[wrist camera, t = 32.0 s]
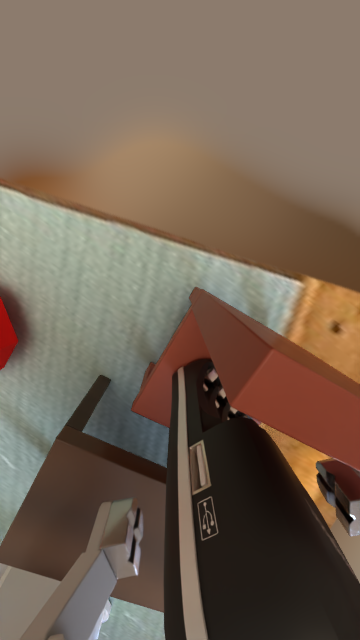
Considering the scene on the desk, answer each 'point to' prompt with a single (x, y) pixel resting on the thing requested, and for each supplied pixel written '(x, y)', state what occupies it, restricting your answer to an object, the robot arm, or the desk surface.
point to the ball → (6, 336)
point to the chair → (259, 379)
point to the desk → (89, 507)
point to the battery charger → (244, 531)
